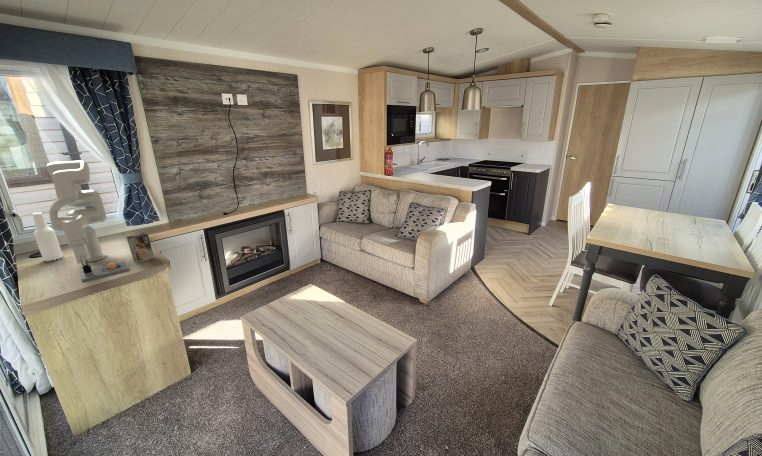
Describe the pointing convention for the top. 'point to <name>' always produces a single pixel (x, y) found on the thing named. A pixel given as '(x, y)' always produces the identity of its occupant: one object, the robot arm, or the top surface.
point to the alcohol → (46, 239)
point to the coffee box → (140, 247)
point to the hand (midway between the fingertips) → (88, 272)
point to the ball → (112, 266)
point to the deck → (104, 271)
